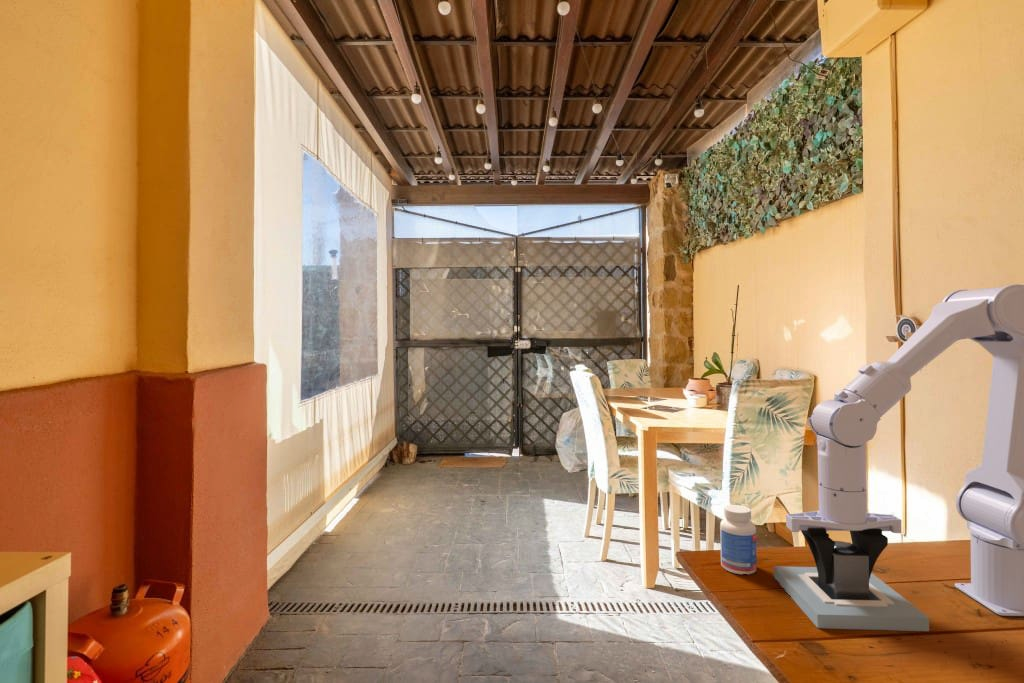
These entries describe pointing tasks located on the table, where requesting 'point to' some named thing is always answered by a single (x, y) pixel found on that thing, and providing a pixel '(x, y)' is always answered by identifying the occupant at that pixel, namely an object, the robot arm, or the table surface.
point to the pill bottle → (738, 540)
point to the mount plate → (850, 604)
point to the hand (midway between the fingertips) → (843, 580)
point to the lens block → (847, 573)
